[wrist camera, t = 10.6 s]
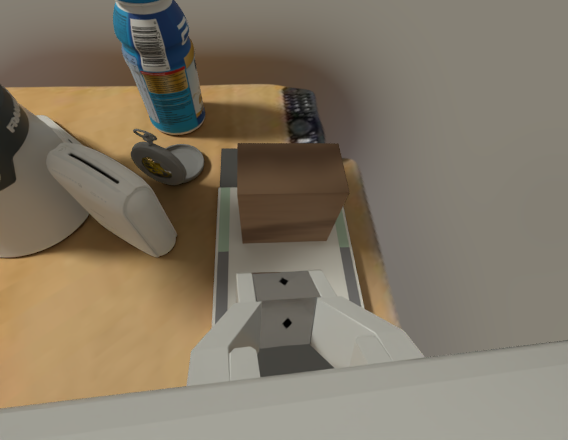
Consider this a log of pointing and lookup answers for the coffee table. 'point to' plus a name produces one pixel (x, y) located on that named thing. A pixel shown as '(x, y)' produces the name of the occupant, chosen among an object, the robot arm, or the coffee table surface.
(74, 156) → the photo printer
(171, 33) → the beverage bottle
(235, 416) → the robot arm
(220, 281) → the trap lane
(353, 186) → the coffee table surface
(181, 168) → the pocket watch
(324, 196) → the walnut block
